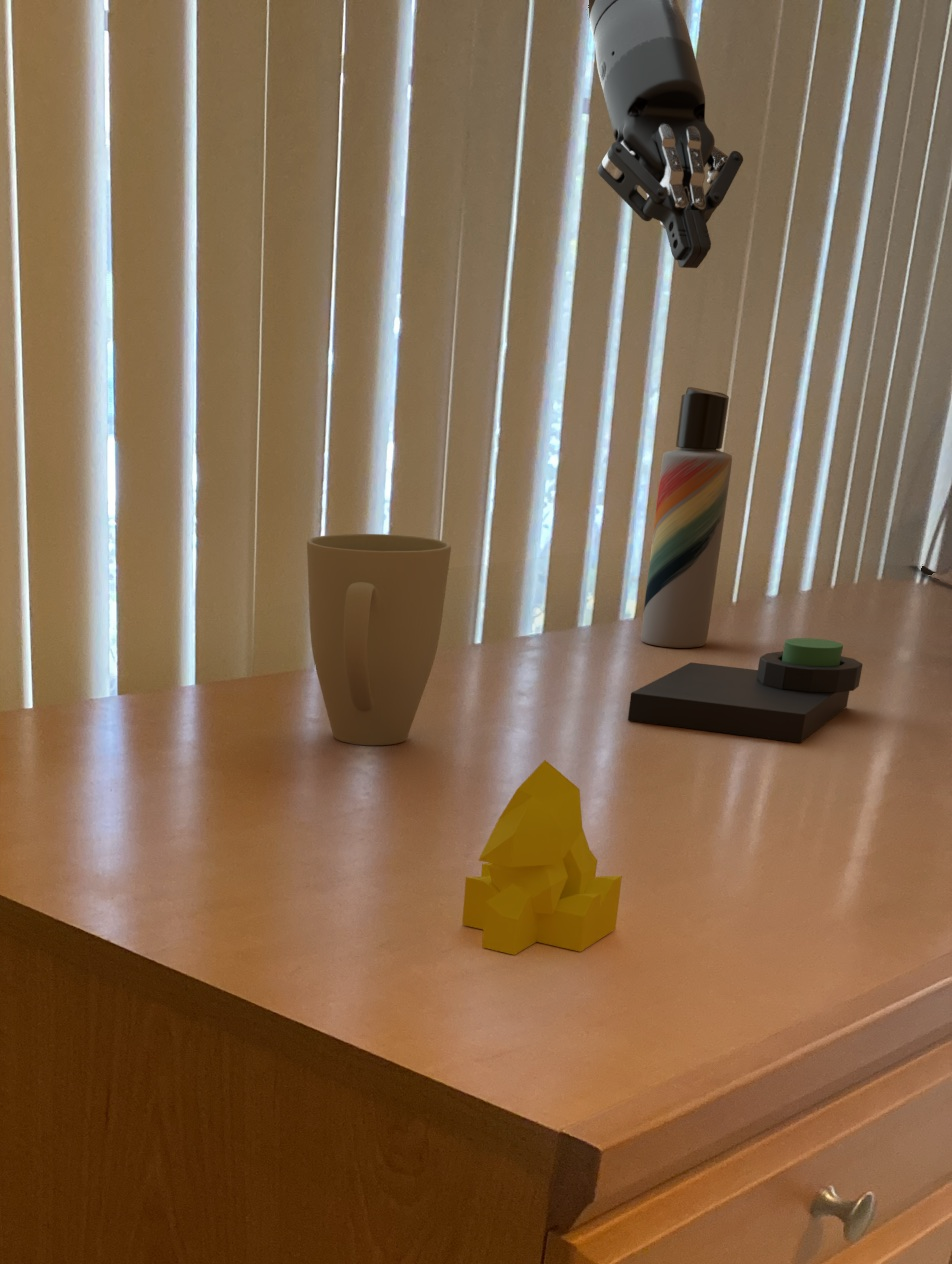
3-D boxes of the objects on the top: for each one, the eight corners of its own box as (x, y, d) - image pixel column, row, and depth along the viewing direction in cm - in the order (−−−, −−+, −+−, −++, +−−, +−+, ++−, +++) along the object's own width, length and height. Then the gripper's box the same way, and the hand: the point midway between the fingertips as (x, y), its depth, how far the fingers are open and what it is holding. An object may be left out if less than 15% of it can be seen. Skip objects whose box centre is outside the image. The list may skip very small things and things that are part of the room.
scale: (688, 686, 125) (695, 639, 123) (861, 707, 119) (870, 658, 118) (627, 720, 113) (633, 668, 112) (814, 745, 108) (824, 691, 106)
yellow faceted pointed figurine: (634, 917, 75) (655, 748, 72) (559, 965, 70) (578, 784, 66) (520, 893, 78) (535, 729, 75) (439, 937, 72) (451, 762, 69)
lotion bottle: (653, 635, 145) (684, 386, 136) (715, 642, 143) (751, 388, 133) (630, 643, 141) (661, 387, 132) (694, 651, 139) (729, 390, 129)
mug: (265, 729, 108) (268, 536, 103) (393, 717, 112) (403, 531, 107) (345, 766, 100) (354, 558, 94) (481, 752, 104) (497, 552, 98)
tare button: (789, 658, 119) (792, 636, 118) (844, 664, 117) (848, 642, 116) (775, 666, 116) (778, 643, 115) (832, 672, 114) (836, 650, 113)
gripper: (598, 26, 128) (646, 222, 126) (741, 40, 132) (790, 230, 130) (556, 103, 135) (601, 290, 133) (693, 114, 139) (738, 296, 137)
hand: (694, 260), depth 131 cm, fingers closed
